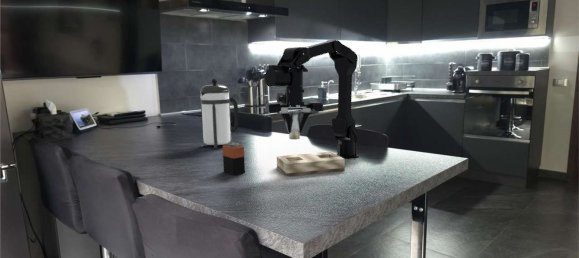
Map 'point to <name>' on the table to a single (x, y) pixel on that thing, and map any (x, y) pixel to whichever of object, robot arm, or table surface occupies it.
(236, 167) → the battery
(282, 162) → the bore block
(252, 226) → the table surface
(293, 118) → the pin
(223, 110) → the coffee press
